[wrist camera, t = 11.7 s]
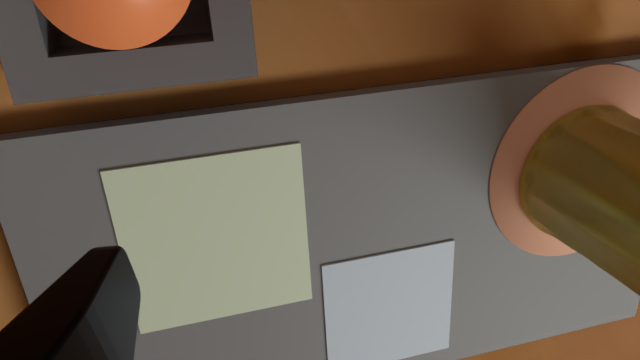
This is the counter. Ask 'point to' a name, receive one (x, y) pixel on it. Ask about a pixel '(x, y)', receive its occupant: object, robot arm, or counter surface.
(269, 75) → the counter surface
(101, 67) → the button housing
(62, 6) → the button
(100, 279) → the robot arm
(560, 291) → the picture board
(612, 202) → the vase
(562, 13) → the counter surface
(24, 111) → the counter surface
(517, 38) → the counter surface
